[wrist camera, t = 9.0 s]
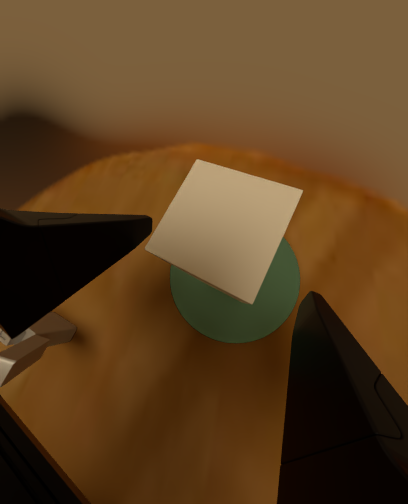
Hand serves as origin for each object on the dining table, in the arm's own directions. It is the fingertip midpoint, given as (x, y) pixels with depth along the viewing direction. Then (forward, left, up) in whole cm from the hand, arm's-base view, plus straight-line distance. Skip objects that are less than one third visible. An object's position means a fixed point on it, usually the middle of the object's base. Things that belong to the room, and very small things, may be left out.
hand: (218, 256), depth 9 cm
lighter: (-19, -3, -10) cm, 21 cm away
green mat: (0, 0, -9) cm, 10 cm away
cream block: (+1, 0, -9) cm, 9 cm away
